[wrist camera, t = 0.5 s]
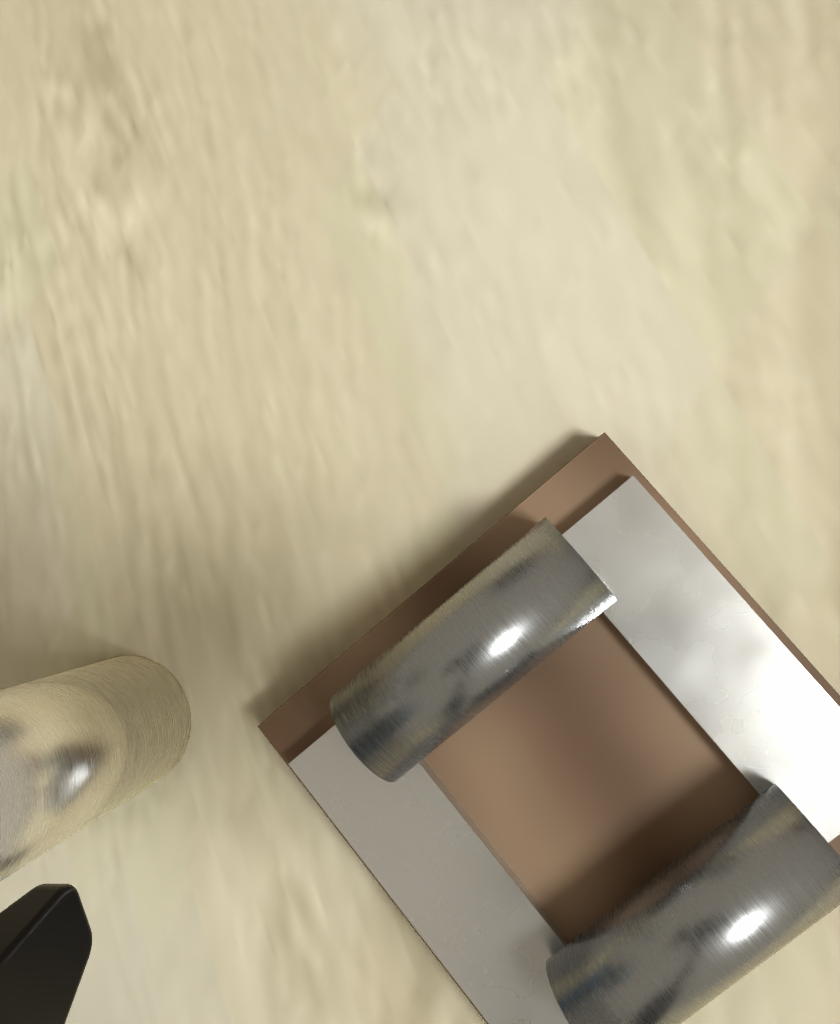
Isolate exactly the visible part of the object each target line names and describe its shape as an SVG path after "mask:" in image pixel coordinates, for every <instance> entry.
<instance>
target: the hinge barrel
mask: <svg viewBox="0 0 840 1024" xmlns="http://www.w3.org/2000/svg"><path fill="white" fill-rule="evenodd" d="M190 730H191V716H190V709H189V704H188V701H187V698H186V695H185V693H184V691H183V689H182V687H181V686H180V684H179V683H178V681H177V680H176V679H175V677H174V676H173V675H172V674H171V673H170V672H169V671H168V670H167V669H165V668H164V667H163V666H161V665H160V664H158V663H156V662H154V661H152V660H150V659H147V658H144V657H139V656H119V657H115V658H111V659H107V660H104V661H100V662H97V663H93V664H90V665H86V666H83V667H79V668H76V669H72V670H69V671H65V672H62V673H58V674H55V675H51V676H48V677H44V678H41V679H37V680H34V681H30V682H27V683H23V684H20V685H16V686H13V687H9V688H6V689H2V690H0V881H1V880H3V879H4V878H6V877H8V876H9V875H11V874H12V873H14V872H15V871H17V870H19V869H20V868H22V867H23V866H25V865H26V864H28V863H29V862H31V861H33V860H34V859H36V858H37V857H39V856H40V855H42V854H44V853H45V852H47V851H48V850H50V849H51V848H53V847H54V846H56V845H58V844H59V843H61V842H62V841H64V840H65V839H67V838H68V837H70V836H72V835H73V834H75V833H76V832H78V831H79V830H81V829H83V828H84V827H86V826H87V825H89V824H90V823H92V822H93V821H95V820H97V819H98V818H100V817H101V816H103V815H104V814H106V813H108V812H109V811H111V810H112V809H114V808H115V807H117V806H118V805H120V804H122V803H123V802H125V801H126V800H128V799H129V798H131V797H133V796H134V795H136V794H137V793H139V792H140V791H142V790H143V789H145V788H147V787H148V786H150V785H151V784H153V783H154V782H156V781H158V780H159V779H161V778H162V777H164V776H165V775H166V774H168V773H169V772H170V771H171V770H172V769H173V768H174V767H175V766H176V764H177V763H178V762H179V761H180V759H181V757H182V755H183V754H184V752H185V749H186V747H187V744H188V740H189V737H190Z"/></svg>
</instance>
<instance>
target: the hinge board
mask: <svg viewBox="0 0 840 1024" xmlns="http://www.w3.org/2000/svg"><path fill="white" fill-rule="evenodd" d="M632 476H634V477H635V478H636V479H637V480H638V481H639V483H640V484H641V485H642V486H643V487H644V488H645V489H646V490H647V492H648V493H649V494H650V495H651V496H652V497H653V498H654V499H655V501H656V502H657V503H658V504H659V505H660V506H661V507H662V508H663V510H664V511H665V512H666V513H667V514H668V515H669V516H670V517H671V518H672V520H673V521H674V522H675V523H676V524H677V525H678V526H679V527H680V529H681V530H682V531H683V532H684V533H685V534H686V535H687V536H688V538H689V539H690V540H691V541H692V542H693V543H694V544H695V545H696V547H697V548H698V549H699V550H700V551H701V552H702V553H703V554H704V556H705V557H706V558H707V559H708V560H709V561H710V562H711V563H712V565H713V566H714V567H715V568H716V569H717V570H718V571H719V572H720V573H721V575H722V576H723V577H724V578H725V579H726V580H727V581H728V582H729V584H730V585H731V586H732V587H733V588H734V589H735V590H736V591H737V593H738V594H739V595H740V596H741V597H742V598H743V599H744V600H745V602H746V603H747V604H748V605H749V606H750V607H751V608H752V609H753V611H754V612H755V613H756V614H757V615H758V616H759V617H760V618H761V619H762V621H763V622H764V623H765V624H766V625H767V626H768V627H769V628H770V630H771V631H772V632H773V633H774V634H775V635H776V636H777V637H778V639H779V640H780V641H781V642H782V643H783V644H784V645H785V646H786V648H787V649H788V650H789V651H790V652H791V653H792V654H793V655H794V657H795V658H796V659H797V660H798V661H799V662H800V663H801V664H802V666H803V667H804V668H805V669H806V670H807V671H808V672H809V673H810V674H811V676H812V677H813V678H814V679H815V680H816V681H817V682H818V683H819V685H820V686H821V687H822V688H823V689H824V690H825V691H826V692H827V694H828V695H829V696H830V697H831V698H832V699H833V700H834V701H835V703H836V704H837V705H838V706H839V707H840V695H839V694H838V693H837V692H836V691H835V690H834V689H833V688H832V686H831V685H830V684H829V683H828V682H827V681H826V680H825V679H824V677H823V676H822V675H821V674H820V673H819V672H818V671H817V670H816V668H815V667H814V666H813V665H812V664H811V663H810V662H809V661H808V660H807V658H806V657H805V656H804V655H803V654H802V653H801V652H800V651H799V649H798V648H797V647H796V646H795V645H794V644H793V643H792V642H791V640H790V639H789V638H788V637H787V636H786V635H785V634H784V633H783V632H782V630H781V629H780V628H779V627H778V626H777V625H776V624H775V623H774V621H773V620H772V619H771V618H770V617H769V616H768V615H767V614H766V612H765V611H764V610H763V609H762V608H761V607H760V606H759V605H758V604H757V602H756V601H755V600H754V599H753V598H752V597H751V596H750V595H749V593H748V592H747V591H746V590H745V589H744V588H743V587H742V586H741V584H740V583H739V582H738V581H737V580H736V579H735V578H734V577H733V576H732V574H731V573H730V572H729V571H728V570H727V569H726V568H725V567H724V565H723V564H722V563H721V562H720V561H719V560H718V559H717V558H716V556H715V555H714V554H713V553H712V552H711V551H710V550H709V549H708V548H707V546H706V545H705V544H704V543H703V542H702V541H701V540H700V539H699V537H698V536H697V535H696V534H695V533H694V532H693V531H692V530H691V529H690V527H689V526H688V525H687V524H686V523H685V522H684V521H683V520H682V518H681V517H680V516H679V515H678V514H677V513H676V512H675V511H674V509H673V508H672V507H671V506H670V505H669V504H668V503H667V502H666V501H665V499H664V498H663V497H662V496H661V495H660V494H659V493H658V492H657V490H656V489H655V488H654V487H653V486H652V485H651V484H650V483H649V481H648V480H647V479H646V478H645V477H644V476H643V475H642V474H641V473H640V471H639V470H638V469H637V468H636V467H635V466H634V465H633V464H632V462H631V461H630V460H629V459H628V458H627V457H626V456H625V455H624V453H623V452H622V451H621V450H620V449H619V448H618V447H617V446H616V445H615V443H614V442H613V441H612V440H611V439H610V438H609V437H608V436H607V434H606V433H605V432H604V433H603V434H602V435H601V436H600V437H598V438H597V439H596V440H595V441H594V442H593V443H591V444H590V445H589V446H588V447H587V448H585V449H584V450H583V451H582V452H581V453H580V454H578V455H577V456H576V457H575V458H574V459H573V460H571V461H570V462H569V463H568V464H567V465H565V466H564V467H563V468H562V469H561V470H560V471H558V472H557V473H556V474H555V475H554V476H552V477H551V478H550V479H549V480H548V481H547V482H545V483H544V484H543V485H542V486H541V487H539V488H538V489H537V490H536V491H535V492H534V493H532V494H531V495H530V496H529V497H528V498H526V499H525V500H524V501H523V502H522V503H521V504H519V505H518V506H517V507H516V508H515V509H514V510H512V511H511V512H510V513H509V514H508V515H506V516H505V517H504V518H503V519H502V520H501V521H499V522H498V523H497V524H496V525H495V526H493V527H492V528H491V529H490V530H489V531H488V532H486V533H485V534H484V535H483V536H482V537H480V538H479V539H478V540H477V541H476V542H475V543H473V544H472V545H471V546H470V547H469V548H467V549H466V550H465V551H464V552H463V553H462V554H460V555H459V556H458V557H457V558H456V559H455V560H453V561H452V562H451V563H450V564H449V565H447V566H446V567H445V568H444V569H443V570H442V571H440V572H439V573H438V574H437V575H436V576H434V577H433V578H432V579H431V580H430V581H429V582H427V583H426V584H425V585H424V586H423V587H421V588H420V589H419V590H418V591H417V592H416V593H414V594H413V595H412V596H411V597H410V598H409V599H407V600H406V601H405V602H404V603H403V604H401V605H400V606H399V607H398V608H397V609H396V610H394V611H393V612H392V613H391V614H390V615H388V616H387V617H386V618H385V619H384V620H383V621H381V622H380V623H379V624H378V625H377V626H375V627H374V628H373V629H372V630H371V631H370V632H368V633H367V634H366V635H365V636H364V637H362V638H361V639H360V640H359V641H358V642H357V643H355V644H354V645H353V646H352V647H351V648H350V649H348V650H347V651H346V652H345V653H344V654H342V655H341V656H340V657H339V658H338V659H337V660H335V661H334V662H333V663H332V664H331V665H329V666H328V667H327V668H326V669H325V670H324V671H322V672H321V673H320V674H319V675H318V676H316V677H315V678H314V679H313V680H312V681H311V682H309V683H308V684H307V685H306V686H305V687H303V688H302V689H301V690H300V691H299V692H298V693H296V694H295V695H294V696H293V697H292V698H291V699H289V700H288V701H287V702H286V703H285V704H283V705H282V706H281V707H280V708H279V709H278V710H276V711H275V712H274V713H273V714H272V715H270V716H269V717H268V718H267V719H266V720H265V721H263V722H262V723H261V724H260V725H259V726H258V727H259V729H260V730H261V731H262V732H263V734H264V735H265V736H266V738H267V739H268V740H269V741H270V743H271V744H272V745H273V747H274V748H275V749H276V751H277V752H278V753H279V754H280V756H281V757H282V758H283V760H284V761H285V762H286V763H287V765H288V766H289V763H290V762H291V761H292V760H293V759H294V758H296V757H297V756H298V755H299V754H300V753H302V752H303V751H304V750H305V749H306V748H308V747H309V746H310V745H311V744H312V743H314V742H315V741H316V740H317V739H318V738H320V737H321V736H322V735H323V734H324V733H325V732H327V731H328V730H329V729H330V728H331V727H333V726H334V725H335V723H334V720H333V718H332V715H331V711H330V704H329V703H330V699H331V697H332V696H333V695H334V694H335V693H337V692H338V691H339V690H340V689H341V688H343V687H344V686H345V685H346V684H347V683H349V682H350V681H351V680H352V679H353V678H354V677H356V676H357V675H358V674H359V673H360V672H362V671H363V670H364V669H365V668H366V667H368V666H369V665H370V664H371V663H372V662H373V661H375V660H376V659H377V658H378V657H379V656H381V655H382V654H383V653H384V652H385V651H387V650H388V649H389V648H390V647H391V646H392V645H394V644H395V643H396V642H397V641H398V640H400V639H401V638H402V637H403V636H404V635H406V634H407V633H408V632H409V631H410V630H411V629H413V628H414V627H415V626H416V625H417V624H419V623H420V622H421V621H422V620H423V619H425V618H426V617H427V616H428V615H429V614H430V613H432V612H433V611H434V610H435V609H436V608H438V607H439V606H440V605H441V604H442V603H444V602H445V601H446V600H447V599H448V598H449V597H451V596H452V595H453V594H454V593H455V592H457V591H458V590H459V589H460V588H461V587H463V586H464V585H465V584H466V583H467V582H468V581H470V580H471V579H472V578H473V577H474V576H476V575H477V574H478V573H479V572H480V571H482V570H483V569H484V568H485V567H486V566H487V565H489V564H490V563H491V562H492V561H493V560H495V559H496V558H497V557H498V556H499V555H501V554H502V553H503V552H504V551H505V550H506V549H508V548H509V547H510V546H511V545H512V544H514V543H515V542H516V541H517V540H518V539H520V538H521V537H522V536H523V535H524V534H525V533H527V532H528V531H529V530H530V529H531V528H533V527H534V526H535V525H536V524H537V523H539V522H540V521H541V520H542V519H543V518H544V517H546V518H547V519H548V520H549V521H550V522H551V523H552V525H553V526H554V527H555V528H556V529H557V530H558V531H559V532H560V533H561V534H563V533H564V532H566V531H567V530H568V529H569V528H570V527H572V526H573V525H574V524H575V523H576V522H578V521H579V520H580V519H581V518H582V517H584V516H585V515H586V514H587V513H588V512H589V511H591V510H592V509H593V508H594V507H595V506H597V505H598V504H599V503H600V502H601V501H603V500H604V499H605V498H606V497H607V496H609V495H610V494H611V493H612V492H613V491H615V490H616V489H617V488H618V487H619V486H621V485H622V484H623V483H624V482H625V481H627V480H628V479H629V478H630V477H632ZM424 760H425V762H426V763H427V764H428V765H429V767H430V768H431V769H432V770H433V772H434V773H435V774H436V775H437V777H438V778H439V779H440V780H441V782H442V783H443V784H444V785H445V787H446V788H447V789H448V790H449V792H450V793H451V794H452V795H453V797H454V798H455V799H456V800H457V802H458V803H459V804H460V805H461V807H462V808H463V809H464V810H465V812H466V813H467V814H468V815H469V817H470V818H471V819H472V820H473V822H474V823H475V824H476V825H477V827H478V828H479V829H480V830H481V832H482V833H483V834H484V835H485V837H486V838H487V839H488V840H489V842H490V843H491V844H492V845H493V847H494V848H495V849H496V850H497V852H498V853H499V854H500V855H501V857H502V858H503V859H504V860H505V862H506V863H507V864H508V865H509V867H510V868H511V869H512V870H513V872H514V873H515V874H516V875H517V877H518V878H519V879H520V880H521V882H522V883H523V884H524V885H525V887H526V888H527V889H528V890H529V892H530V893H531V894H532V895H533V897H534V898H535V899H536V900H537V902H538V903H539V904H540V905H541V907H542V908H543V909H544V910H545V912H546V913H547V914H548V915H549V917H550V918H551V919H552V920H553V922H554V923H555V924H556V925H557V927H558V928H559V929H560V930H561V932H562V933H563V934H564V935H565V937H566V938H567V939H568V940H569V942H570V941H571V940H573V939H574V938H575V937H577V936H578V935H579V934H580V933H582V932H583V931H584V930H586V929H587V928H588V927H590V926H591V925H592V924H593V923H595V922H596V921H597V920H599V919H600V918H601V917H602V916H604V915H605V914H606V913H608V912H609V911H610V910H612V909H613V908H614V907H615V906H617V905H618V904H619V903H621V902H622V901H623V900H625V899H626V898H627V897H628V896H630V895H631V894H632V893H634V892H635V891H636V890H637V889H639V888H640V887H641V886H643V885H644V884H645V883H647V882H648V881H649V880H650V879H652V878H653V877H654V876H656V875H657V874H658V873H659V872H661V871H662V870H663V869H665V868H666V867H667V866H669V865H670V864H671V863H672V862H674V861H675V860H676V859H678V858H679V857H680V856H681V855H683V854H684V853H685V852H687V851H688V850H689V849H691V848H692V847H693V846H694V845H696V844H697V843H698V842H700V841H701V840H702V839H704V838H705V837H706V836H707V835H709V834H710V833H711V832H713V831H714V830H715V829H716V828H718V827H719V826H720V825H722V824H723V823H724V822H726V821H727V820H728V819H729V818H731V817H732V816H733V815H735V814H736V813H737V812H738V811H740V810H741V809H742V808H744V807H745V806H746V805H748V804H749V803H750V802H751V801H753V800H754V799H755V798H757V797H758V796H759V795H760V794H759V793H758V792H757V791H756V789H755V788H754V787H753V786H752V785H751V784H750V782H749V781H748V780H747V779H746V778H745V777H744V776H743V774H742V773H741V772H740V771H739V770H738V769H737V767H736V766H735V765H734V764H733V763H732V762H731V760H730V759H729V758H728V757H727V756H726V755H725V753H724V752H723V751H722V750H721V749H720V748H719V746H718V745H717V744H716V743H715V742H714V741H713V739H712V738H711V737H710V736H709V735H708V734H707V732H706V731H705V730H704V729H703V728H702V727H701V726H700V724H699V723H698V722H697V721H696V720H695V719H694V717H693V716H692V715H691V714H690V713H689V712H688V710H687V709H686V708H685V707H684V706H683V705H682V703H681V702H680V701H679V700H678V699H677V698H676V696H675V695H674V694H673V693H672V692H671V691H670V689H669V688H668V687H667V686H666V685H665V684H664V682H663V681H662V680H661V679H660V678H659V677H658V676H657V674H656V673H655V672H654V671H653V670H652V669H651V667H650V666H649V665H648V664H647V663H646V662H645V660H644V659H643V658H642V657H641V656H640V655H639V653H638V652H637V651H636V650H635V649H634V648H633V646H632V645H631V644H630V643H629V642H628V641H627V639H626V638H625V637H624V636H623V635H622V634H621V632H620V631H619V630H618V629H617V628H616V627H615V626H614V624H613V623H612V622H611V621H610V620H609V619H608V617H607V616H606V615H605V614H604V613H603V612H602V613H601V614H600V615H599V616H597V617H596V618H595V619H594V620H592V621H591V622H590V623H589V624H588V625H586V626H585V627H584V628H583V629H581V630H580V631H579V632H578V633H577V634H575V635H574V636H573V637H572V638H570V639H569V640H568V641H567V642H566V643H564V644H563V645H562V646H561V647H559V648H558V649H557V650H556V651H555V652H553V653H552V654H551V655H550V656H548V657H547V658H546V659H545V660H544V661H542V662H541V663H540V664H539V665H538V666H536V667H535V668H534V669H533V670H531V671H530V672H529V673H528V674H527V675H525V676H524V677H523V678H522V679H520V680H519V681H518V682H517V683H516V684H514V685H513V686H512V687H511V688H509V689H508V690H507V691H506V692H505V693H503V694H502V695H501V696H500V697H498V698H497V699H496V700H495V701H494V702H492V703H491V704H490V705H489V706H487V707H486V708H485V709H484V710H483V711H481V712H480V713H479V714H478V715H477V716H475V717H474V718H473V719H472V720H470V721H469V722H468V723H467V724H466V725H464V726H463V727H462V728H461V729H459V730H458V731H457V732H456V733H455V734H453V735H452V736H451V737H450V738H448V739H447V740H446V741H445V742H444V743H442V744H441V745H440V746H439V747H437V748H436V749H435V750H434V751H433V752H431V753H430V754H429V755H428V756H426V757H425V758H424ZM289 767H290V766H289ZM290 769H291V770H292V768H291V767H290ZM292 771H293V770H292ZM293 773H294V774H295V772H294V771H293ZM295 775H296V774H295ZM296 776H297V775H296ZM297 778H298V779H299V777H298V776H297ZM299 780H300V779H299ZM300 782H301V783H302V781H301V780H300ZM302 784H303V783H302ZM303 786H304V787H305V788H306V786H305V785H304V784H303ZM306 789H307V788H306ZM307 791H308V792H309V790H308V789H307ZM309 793H310V792H309ZM310 795H311V796H312V794H311V793H310ZM312 797H313V796H312ZM313 798H314V797H313ZM314 800H315V801H316V799H315V798H314ZM316 802H317V801H316ZM317 804H318V805H319V803H318V802H317ZM319 806H320V805H319ZM320 808H321V809H322V810H323V808H322V807H321V806H320ZM323 811H324V810H323ZM324 813H325V814H326V812H325V811H324ZM326 815H327V814H326ZM327 817H328V818H329V816H328V815H327ZM329 819H330V818H329ZM330 820H331V819H330ZM331 822H332V823H333V821H332V820H331ZM333 824H334V823H333ZM334 826H335V827H336V825H335V824H334ZM336 828H337V827H336ZM337 830H338V831H339V829H338V828H337ZM339 832H340V831H339ZM340 833H341V832H340ZM341 835H342V836H343V834H342V833H341ZM343 837H344V836H343ZM344 839H345V840H346V838H345V837H344ZM346 841H347V840H346ZM347 843H348V844H349V845H350V843H349V842H348V841H347ZM829 844H830V845H831V846H832V847H833V848H834V850H835V851H836V852H837V853H838V854H839V855H840V834H839V835H838V836H837V837H835V838H834V839H833V840H831V841H830V842H829ZM350 846H351V845H350ZM351 848H352V849H353V847H352V846H351ZM353 850H354V849H353ZM354 852H355V853H356V851H355V850H354ZM356 854H357V853H356ZM357 855H358V854H357ZM358 857H359V858H360V856H359V855H358ZM360 859H361V858H360ZM361 861H362V862H363V860H362V859H361ZM363 863H364V862H363ZM364 865H365V866H366V867H367V865H366V864H365V863H364ZM367 868H368V867H367ZM368 870H369V871H370V869H369V868H368ZM370 872H371V871H370ZM371 874H372V875H373V873H372V872H371ZM373 876H374V875H373ZM374 877H375V876H374ZM375 879H376V880H377V878H376V877H375ZM377 881H378V880H377ZM378 883H379V884H380V882H379V881H378ZM380 885H381V884H380ZM381 887H382V888H383V889H384V887H383V886H382V885H381ZM384 890H385V889H384ZM385 892H386V893H387V891H386V890H385ZM387 894H388V893H387ZM388 896H389V897H390V895H389V894H388ZM390 898H391V897H390ZM391 900H392V901H393V902H394V900H393V899H392V898H391ZM394 903H395V902H394ZM395 905H396V906H397V904H396V903H395ZM397 907H398V906H397ZM398 909H399V910H400V908H399V907H398ZM400 911H401V910H400ZM401 912H402V911H401ZM402 914H403V915H404V913H403V912H402ZM404 916H405V915H404ZM405 918H406V919H407V917H406V916H405ZM407 920H408V919H407ZM408 922H409V923H410V924H411V922H410V921H409V920H408ZM411 925H412V924H411ZM412 927H413V928H414V926H413V925H412ZM414 929H415V928H414ZM415 931H416V932H417V930H416V929H415ZM417 933H418V932H417ZM418 934H419V933H418ZM419 936H420V937H421V935H420V934H419ZM421 938H422V937H421ZM422 940H423V941H424V939H423V938H422ZM424 942H425V941H424ZM425 944H426V945H427V946H428V944H427V943H426V942H425ZM428 947H429V946H428ZM429 949H430V950H431V948H430V947H429ZM431 951H432V950H431ZM432 953H433V954H434V952H433V951H432ZM434 955H435V954H434ZM435 957H436V958H437V959H438V957H437V956H436V955H435ZM438 960H439V959H438ZM439 962H440V963H441V961H440V960H439ZM441 964H442V963H441ZM442 966H443V967H444V965H443V964H442ZM444 968H445V967H444ZM445 969H446V968H445ZM446 971H447V972H448V970H447V969H446ZM448 973H449V972H448ZM449 975H450V976H451V974H450V973H449ZM451 977H452V976H451ZM452 979H453V980H454V981H455V979H454V978H453V977H452ZM455 982H456V981H455ZM456 984H457V985H458V983H457V982H456ZM458 986H459V985H458ZM459 988H460V989H461V987H460V986H459ZM461 990H462V989H461ZM462 991H463V990H462ZM463 993H464V994H465V992H464V991H463ZM465 995H466V994H465ZM466 997H467V998H468V996H467V995H466ZM468 999H469V998H468ZM469 1001H470V1002H471V1003H472V1001H471V1000H470V999H469ZM472 1004H473V1003H472ZM473 1006H474V1007H475V1005H474V1004H473ZM475 1008H476V1007H475ZM476 1010H477V1011H478V1009H477V1008H476ZM478 1012H479V1011H478ZM479 1014H480V1015H481V1016H482V1014H481V1013H480V1012H479ZM482 1017H483V1016H482ZM483 1019H484V1020H485V1018H484V1017H483ZM485 1021H486V1020H485ZM486 1023H487V1024H489V1023H488V1022H487V1021H486Z"/></svg>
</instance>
